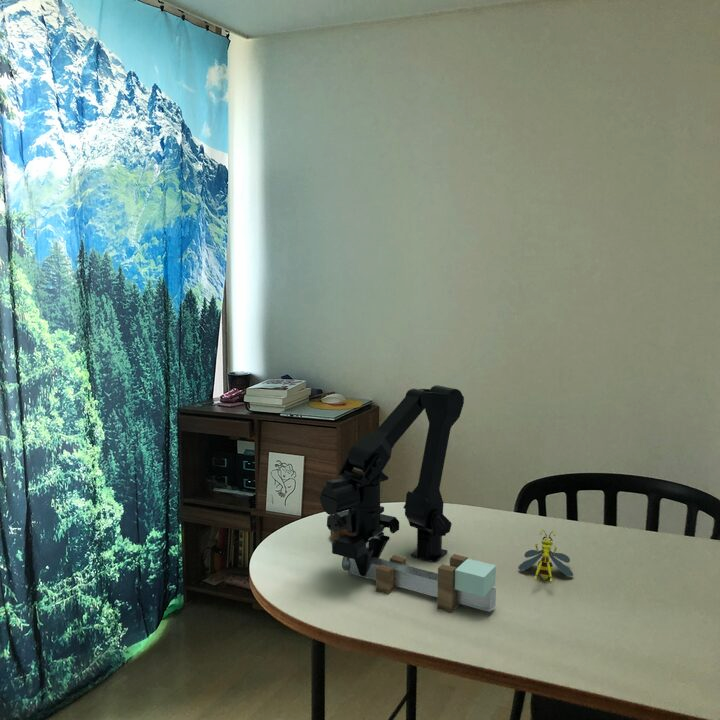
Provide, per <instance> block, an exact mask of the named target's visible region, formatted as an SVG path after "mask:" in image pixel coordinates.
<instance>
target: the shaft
mask: <svg viewBox="0 0 720 720" xmlns="http://www.w3.org/2000/svg"><path fill="white" fill-rule="evenodd" d="M380 565H384V566H388V567H392V568H394V578H393V585H395V586H398V587H399V588H402V589H405V590H409V591H413V592H416V593H421V594H424V595H428V596H431V597H435V598H438V572H433V571H430V570H425V569H421V568H418V567H413V566H410V565H407V564H406V565H403V564H399V563H395V562H391V561H389V560H388V559H384V558H381V557H379V558H376V557H372V556H371V560H370V563H369V566H368V570H367V573H366V575H365V576H364V577H363V576H360V573H359V571H358V568H357V565H356V562H355V560H354V559H352V558H348V557H344V556H342V560H341V567H342V570H343V571H346V572H348V573H349V574H352V575H356V576H358V577H363V578H367V579H369V580H370V579H371V580H373V581H376V568H377V567H378V566H380ZM398 587H397V588H398ZM496 596H497V588H495V587H493V588H492V589H491V590H490V591H489V592H488V593H487V594H486V595H485V596H484V597H481V596H478V595H474V594H470V593H466V592H463V591H459V590H456V603H459V605H463V606H466V607H467V606H468V607H471V608H474V609H477V610H481V611H485V612H488V613H490V612H491V611H492V610H493V609H494V608H495V607H496V603H497V599H496V598H497V597H496Z"/></svg>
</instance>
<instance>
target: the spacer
mask: <svg viewBox="0 0 720 720" xmlns="http://www.w3.org/2000/svg"><path fill="white" fill-rule="evenodd" d="M496 572H497V565H496V564H492V563H491V564H490V563H488V562H483V561H479V560H475V559H471V558H468V559H467V560H466V561H464V562H463V563H462V564H461V565H460V566H459V567H458V568H457V569H456V570H455V590H459V591H463V592H466V593H470V594H474V595H478V596H481V597H484V596H485V595H486V594H487V593H488V592H489V591H490V590H491V589H492V588H495V586H496V576H497V575H496V574H497V573H496Z"/></svg>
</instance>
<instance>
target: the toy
mask: <svg viewBox="0 0 720 720" xmlns="http://www.w3.org/2000/svg"><path fill="white" fill-rule="evenodd" d="M543 533H544V534H545V536H544V537H542V539H541V548H542V549H541V550H539V547H538V545H539V543H535V545H534V547H535V549H530V550H527V551H526V552H525V553H524V555H523V556H524V558H529V559H527V560H525V561H523V562H522V563H520V564H519V565H518V566H517V567H518V568H517V569H518V570H521V571H522V570H529V569H530V568H532V566H533V565H535V564H536V563H537V562H538V563H537V568H536V571H535V576H534V577H533V579H534V580H535V581H537V576H538V575H539V576H541V578H542V579H543V580H544V581H546V580H547V579H549V582H553V578H552V572H553V569H554V567H553V564H554V565H555V566H556V568H557V569H558V570H559V571H560V572H561V573H562V574H563V575H565V576H567V577H573V576H574V573H573V571H572V570H571V568H569V567H568V566H567V565H565V564H564V563H566V564H569V563H570V561H571V558H570V557H569V556H568V555H567V554H565V553H561V552H557V550H558V547H557V546H555V545H554V543H553V539H552V537H551V534H553V536H556V532H555V531H554V530H553V531H551V532H550V533H549V535H548V536H547V533H546V531H545V530H544V529H541V530H540V531H539V534H540V535H542V534H543ZM552 546H553V547H554V550H553V551H551V549H552ZM550 559H551V560H550ZM552 562H553V563H552ZM563 562H564V563H563Z"/></svg>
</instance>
